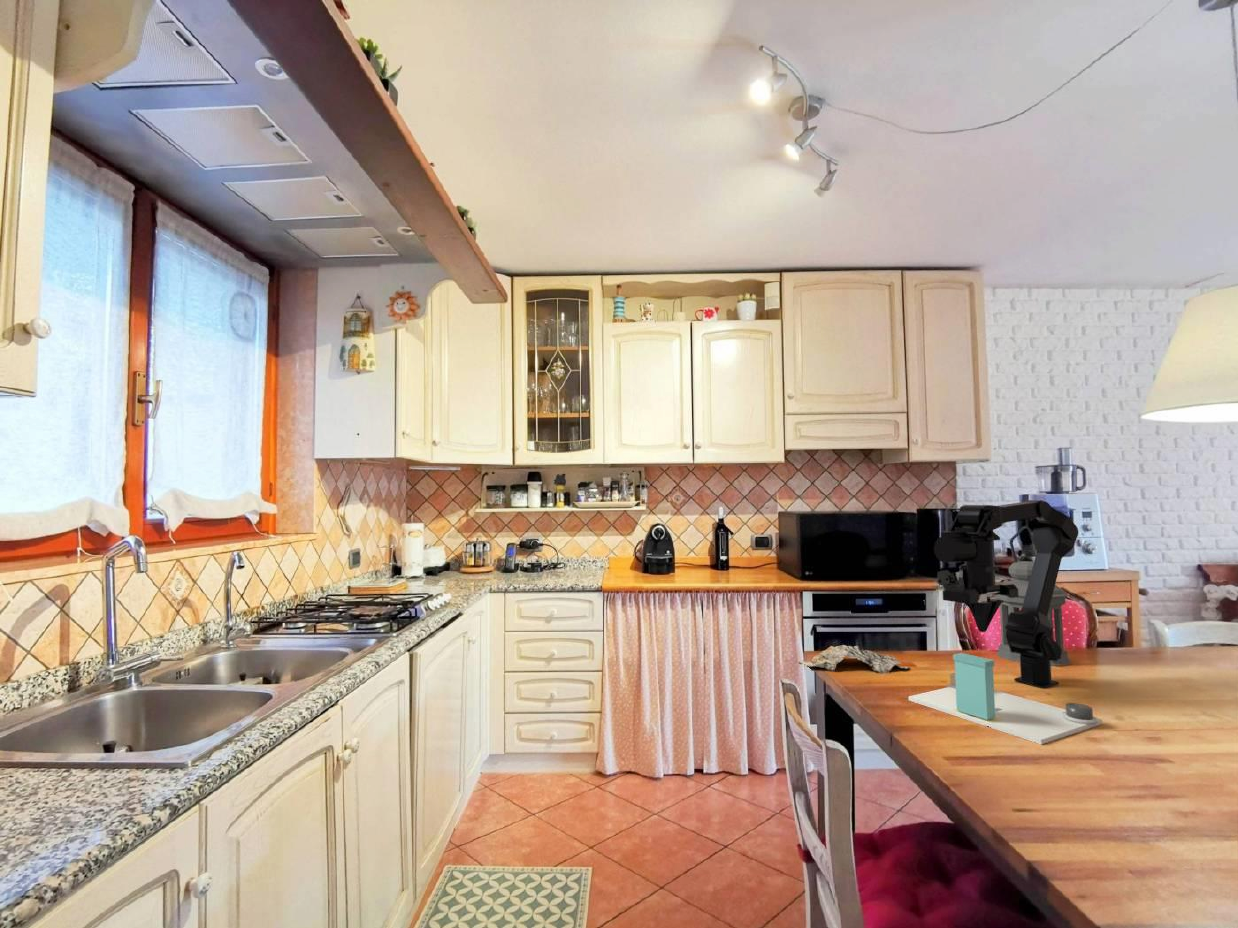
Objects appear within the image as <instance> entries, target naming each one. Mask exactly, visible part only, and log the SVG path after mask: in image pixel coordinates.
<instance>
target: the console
mask: <svg viewBox="0 0 1238 928" xmlns="http://www.w3.org/2000/svg"><path fill="white" fill-rule="evenodd" d="M949 678H950V680H949V681H950V683H948V684H946V686H947V687H944V688H938V689H934V690H931V691H927V692H922V693H918V694H913V695H909V696H908V701H910V702H913V703H916V704H919V705H922V706H925V707H928V708H930V709H933V710H937V711H939V712H942V713H945V714H948V715H952V716H955V717H957V718H961V719H962V720H963V719H964V720H967V721H969V722H972V723H976V724H978V725H981V726H984V727H987V726H989V727H988V728H990V727H991V728H990V729H994V730H997V731H999V732H1003V733H1006V734H1009V735H1011V736H1015V737H1017V738H1021V739H1024V740H1027V741H1030V742H1033V743H1035V742H1036V744H1039V745H1044V744H1046V743H1050V742H1053V741H1057V740H1059V739H1062V738H1064V737H1067V736H1070V735H1073V734H1076V733H1080V732H1083V731H1086V730H1088V729H1091V728H1094V727H1098V726H1099V725H1102V724H1103V721H1102V719H1101V718H1097V717H1096V716H1094V715H1093V707H1092V706H1089V705H1086V704H1082V703H1078V702H1066V703H1065V709H1064V708H1060V707H1057V706H1053V705H1050V704H1047V703H1042V702H1038V701H1035V700H1031V699H1028V698H1025V697H1021V696H1018V695H1017V696H1016V695H1013V694H1009V693H1006V692H1002V691H999V690H996V689H994V700H995V718H992V719H989V720H986V719H983V718H980V717H976V716H973V715H970V714H967V713H964V712H961V711H958V710H957V706H956V682H955V672H952V673H950V674H949Z"/></svg>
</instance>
